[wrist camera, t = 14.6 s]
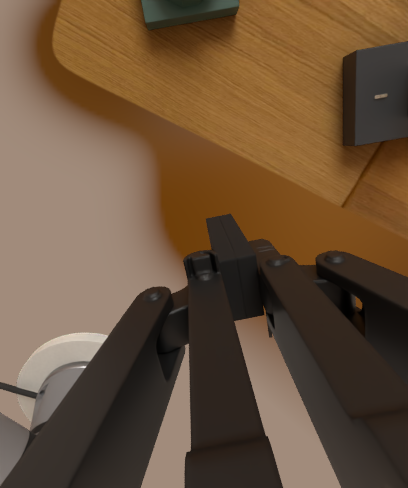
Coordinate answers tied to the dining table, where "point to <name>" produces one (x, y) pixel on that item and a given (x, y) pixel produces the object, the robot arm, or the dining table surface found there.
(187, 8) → the button block
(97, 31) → the dining table surface
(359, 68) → the dial panel
